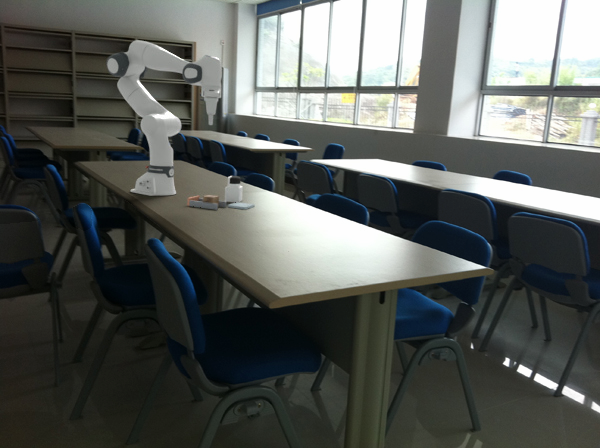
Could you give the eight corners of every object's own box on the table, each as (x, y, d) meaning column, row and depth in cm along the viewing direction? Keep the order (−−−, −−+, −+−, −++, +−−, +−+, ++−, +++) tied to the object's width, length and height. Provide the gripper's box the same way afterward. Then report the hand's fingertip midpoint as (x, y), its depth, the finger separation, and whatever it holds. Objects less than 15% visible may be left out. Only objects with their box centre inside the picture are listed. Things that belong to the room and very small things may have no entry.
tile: (227, 207, 234) (227, 204, 234) (237, 204, 243) (237, 202, 242) (245, 209, 231) (245, 207, 231) (254, 206, 240) (254, 204, 239)
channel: (187, 205, 232) (187, 198, 231) (197, 203, 240) (198, 195, 239) (216, 209, 227) (216, 201, 226) (226, 207, 234) (226, 199, 234)
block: (203, 207, 231) (203, 196, 230) (209, 205, 236) (209, 194, 235) (212, 208, 229) (213, 197, 228) (218, 207, 234) (218, 196, 233)
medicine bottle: (242, 200, 254) (243, 176, 251) (239, 202, 247) (240, 177, 244) (228, 199, 254) (228, 175, 252) (224, 201, 247) (225, 176, 245)
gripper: (204, 93, 242) (203, 123, 245) (204, 92, 223) (203, 125, 225) (217, 94, 243) (217, 124, 246) (219, 93, 224) (218, 125, 227)
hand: (210, 124), depth 236 cm, fingers open, 8 cm apart
